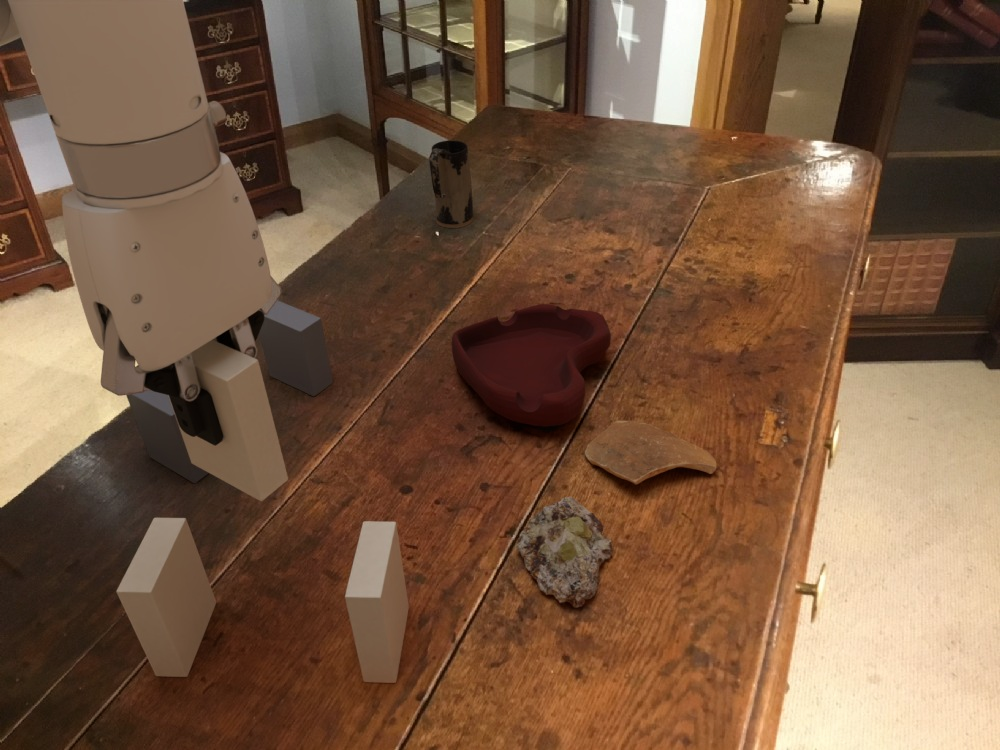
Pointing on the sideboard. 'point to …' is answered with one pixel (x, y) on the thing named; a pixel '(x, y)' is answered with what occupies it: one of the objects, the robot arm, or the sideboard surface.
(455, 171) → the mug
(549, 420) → the ashtray
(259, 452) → the white book
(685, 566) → the sideboard surface
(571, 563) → the mineral rock
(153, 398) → the grey books
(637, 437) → the pottery shard
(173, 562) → the white books
